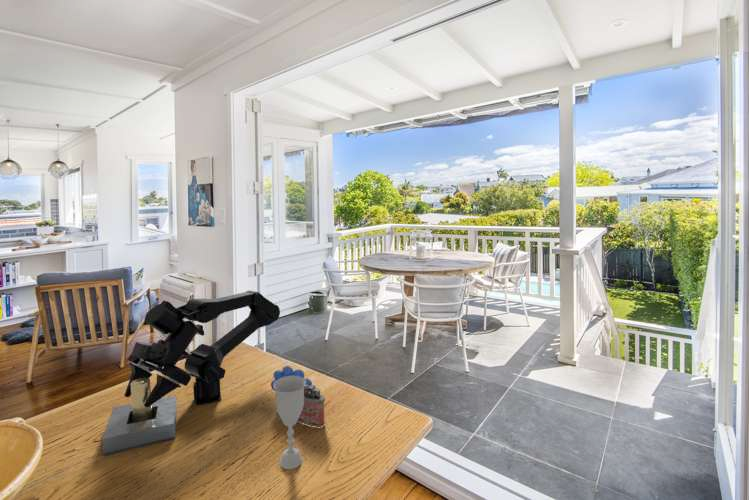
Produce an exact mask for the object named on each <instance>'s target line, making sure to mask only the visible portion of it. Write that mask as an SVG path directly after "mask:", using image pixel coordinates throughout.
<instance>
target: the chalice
mask: <svg viewBox="0 0 749 500" xmlns="http://www.w3.org/2000/svg"><path fill="white" fill-rule="evenodd" d="M305 384H306V380H305V377H304V378H302V377H299V376H286V377H282V378H280V379H278V380H277V381H275V383H274V385H273V387H274V389H275V390H276V391H275V406H276V407H275V408H276V412H277V413H278V415H279V417H280V419H281V422H282V423H283V425H284V426H286V427H287V431H286V435H287V436H288V438H287V439H286V443H287V444H288V447H287V448H285V449H284V451H283V452H282V454H281V457H280V458H279V459H280V460H279V461H278V465H279V467H280V468H282V469H284V470H293V469H296V468H298V467H299V465H301V464H302V463H303V461H302V459H303V457H302V454H301V452H300V450H299V449H298V448H296V447H294V446H293V445H294V442H295V441H296V440H295V438H294V434H295V431H294V426H295V425H297V423H298V422H297V421H298V418H299V416H300V414H301V412H302V409H303V406H304V386H305ZM301 462H302V463H301Z"/></svg>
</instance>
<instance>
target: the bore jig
mask: <svg viewBox="0 0 749 500" xmlns="http://www.w3.org/2000/svg"><path fill="white" fill-rule="evenodd" d="M177 412H178V411H177V395H171V396H170V395H169V396H166V397H165V396H163V397H162V398H161V399H159V400H158V401H156V402H155V403H153V404H152V415H153V419H151V420H146V421H141V422H136V423H134V422H133V409H132V403H127V404H122V405H118V406H113V407H112V410H111V413H110V415H109V419H108V421H107V424H106V427H105V430H104V432H103V436H102V438H101V443H102V454H103V456H107V455H113V454H116V453H117V454H118V453H121V452H125V451H129V450H133V449H138V448H141V447H147V446H151V445H155V444H159V443H163V442H168V441H171V440H175V439H176V430H177V429H176V427H177V414H178V413H177Z"/></svg>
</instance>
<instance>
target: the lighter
mask: <svg viewBox="0 0 749 500" xmlns="http://www.w3.org/2000/svg"><path fill="white" fill-rule="evenodd" d="M325 401H326V397H325V396H324V395H321V388H318V387H316V385H314V384H312V386H308V385H305V386H304V406H303V409H302V412H301V414H300V416H299V418H298V421H299V422H301V423H304V424H307V425H310V426H316V427H321V426H323V425H324V424H325V425H326V421H325Z"/></svg>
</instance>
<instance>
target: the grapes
mask: <svg viewBox="0 0 749 500" xmlns="http://www.w3.org/2000/svg"><path fill="white" fill-rule="evenodd" d="M286 376H299V377H302V378H304V379H305V380H306V384H305V385H308V386H312V385H313V382H312V380H311V379H309V378H307V377H305V373H304V371H303V370H301V369H300V368H297V369H293V368H292V366H289V365H286V366H285V365H284V367H282V370H278V369H277V370H275V371H274V372H273V380H272V381H271V382H270V387H271V389H272V390H273V392H274V391H275V392H276V390H275V389H274V387H273V385H274V383H275V381H277V380H278V379H280V378H282V377H286Z"/></svg>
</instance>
